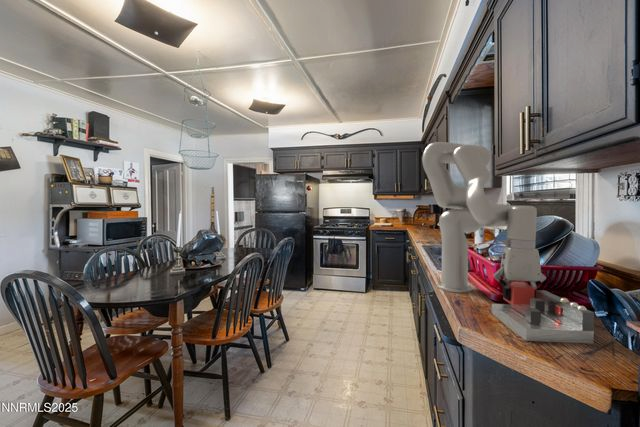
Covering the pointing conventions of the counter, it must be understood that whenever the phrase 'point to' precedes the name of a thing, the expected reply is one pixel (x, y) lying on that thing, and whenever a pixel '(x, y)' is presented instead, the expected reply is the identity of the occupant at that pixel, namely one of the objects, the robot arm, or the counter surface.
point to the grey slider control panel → (550, 320)
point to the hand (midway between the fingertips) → (518, 299)
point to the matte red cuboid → (521, 293)
